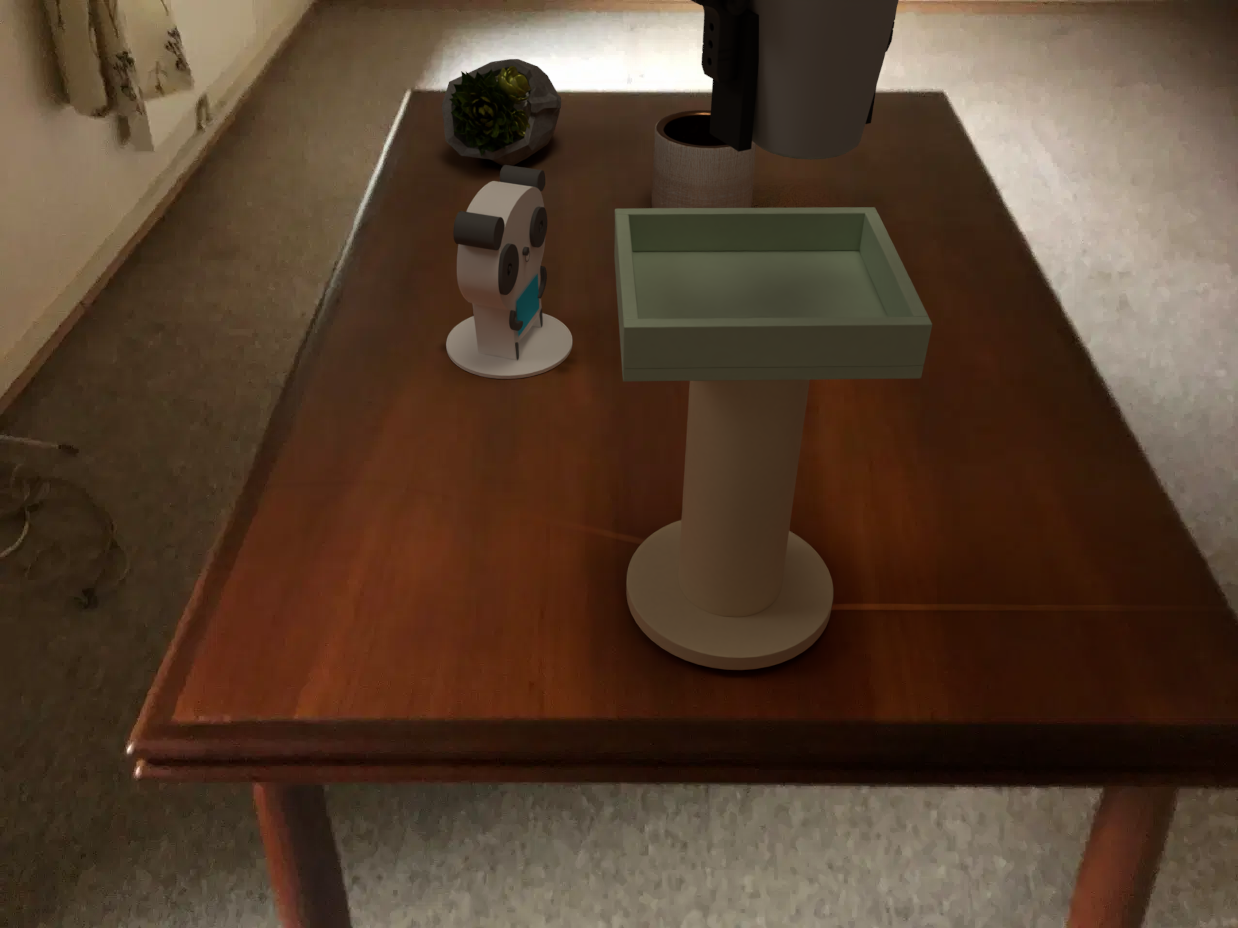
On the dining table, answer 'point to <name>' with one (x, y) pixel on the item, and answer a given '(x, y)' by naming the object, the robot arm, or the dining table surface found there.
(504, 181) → the panda figurine
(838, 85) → the cup
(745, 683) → the dining table surface
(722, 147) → the planter
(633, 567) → the tray
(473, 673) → the dining table surface
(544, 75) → the potted plant
